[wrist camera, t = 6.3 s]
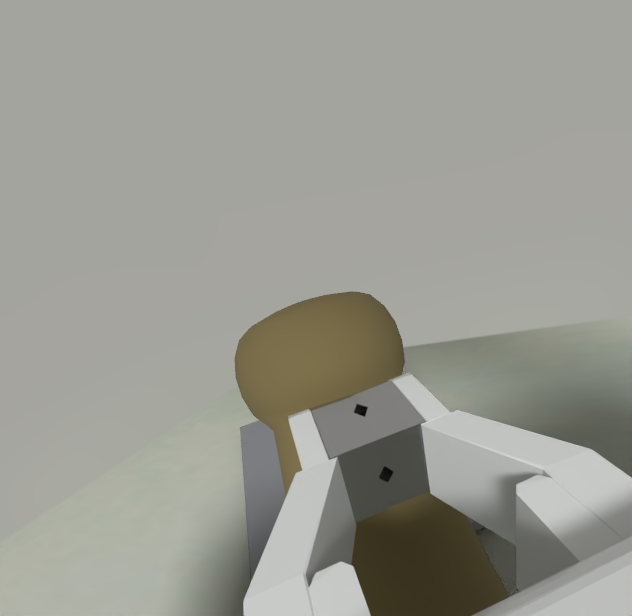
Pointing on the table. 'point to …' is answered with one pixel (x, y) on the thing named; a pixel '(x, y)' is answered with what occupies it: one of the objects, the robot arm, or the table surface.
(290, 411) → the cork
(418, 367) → the table surface
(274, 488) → the mat
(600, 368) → the table surface
